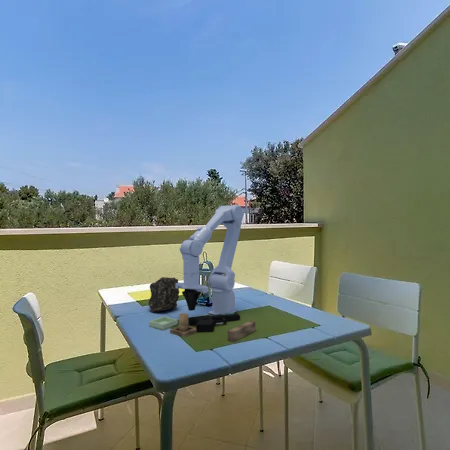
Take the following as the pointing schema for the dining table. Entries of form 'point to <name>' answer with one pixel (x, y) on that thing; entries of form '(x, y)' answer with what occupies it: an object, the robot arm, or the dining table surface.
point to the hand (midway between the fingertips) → (191, 310)
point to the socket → (184, 334)
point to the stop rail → (241, 331)
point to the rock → (164, 294)
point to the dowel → (183, 322)
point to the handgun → (211, 321)
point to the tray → (163, 323)
